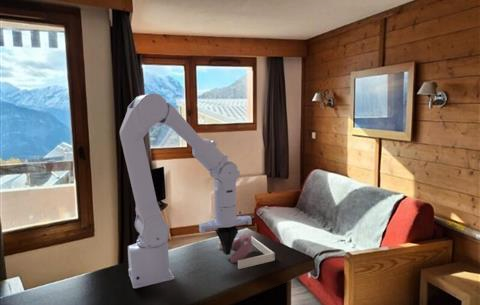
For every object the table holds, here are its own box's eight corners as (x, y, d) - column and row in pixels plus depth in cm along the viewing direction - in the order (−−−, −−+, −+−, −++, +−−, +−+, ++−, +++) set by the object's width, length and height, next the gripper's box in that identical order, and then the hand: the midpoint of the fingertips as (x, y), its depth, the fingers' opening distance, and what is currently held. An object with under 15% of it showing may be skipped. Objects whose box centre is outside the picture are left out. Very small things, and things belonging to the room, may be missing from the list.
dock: (238, 269, 86) (238, 261, 86) (218, 248, 99) (218, 241, 99) (274, 260, 91) (274, 253, 91) (250, 241, 104) (250, 235, 103)
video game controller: (244, 269, 89) (255, 246, 89) (228, 262, 89) (240, 239, 88) (244, 253, 99) (254, 232, 98) (230, 246, 99) (240, 225, 98)
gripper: (243, 197, 97) (244, 243, 99) (194, 204, 91) (196, 253, 93) (254, 203, 91) (255, 252, 93) (203, 211, 85) (205, 263, 87)
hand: (226, 253), depth 93 cm, fingers closed
